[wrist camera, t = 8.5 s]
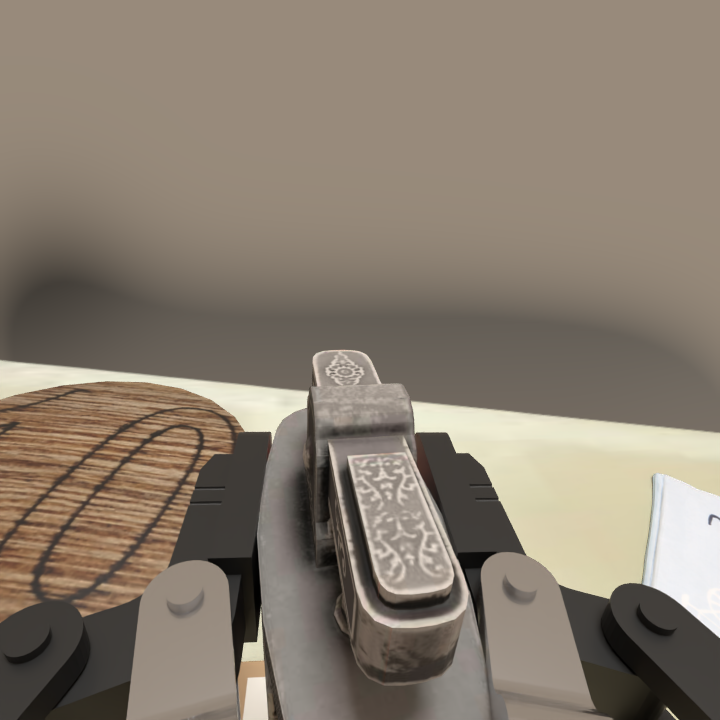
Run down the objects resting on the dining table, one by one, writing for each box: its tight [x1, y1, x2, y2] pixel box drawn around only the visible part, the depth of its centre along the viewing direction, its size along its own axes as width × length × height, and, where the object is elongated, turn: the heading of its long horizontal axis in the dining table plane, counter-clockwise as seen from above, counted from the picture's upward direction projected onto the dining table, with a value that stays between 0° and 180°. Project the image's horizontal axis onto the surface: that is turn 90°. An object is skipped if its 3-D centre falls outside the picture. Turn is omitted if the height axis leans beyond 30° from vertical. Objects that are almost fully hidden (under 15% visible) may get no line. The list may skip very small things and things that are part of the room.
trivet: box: [0, 381, 245, 623], centre depth 29 cm, size 25×25×2 cm
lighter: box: [257, 350, 492, 720], centre depth 9 cm, size 8×3×10 cm, turn 10°
